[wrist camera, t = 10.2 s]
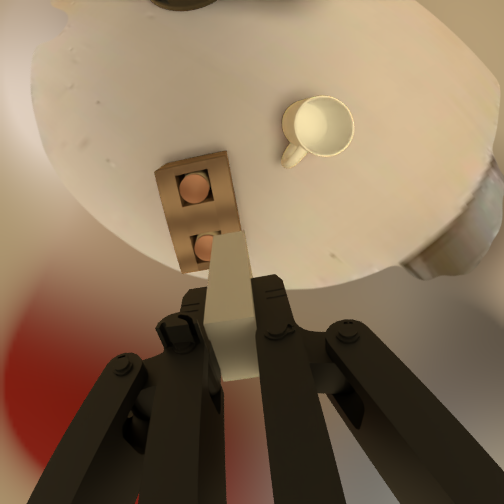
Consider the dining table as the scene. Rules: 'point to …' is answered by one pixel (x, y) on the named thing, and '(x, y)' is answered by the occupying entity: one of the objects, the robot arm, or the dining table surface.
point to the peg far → (205, 245)
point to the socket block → (197, 206)
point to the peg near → (195, 186)
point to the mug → (316, 128)
